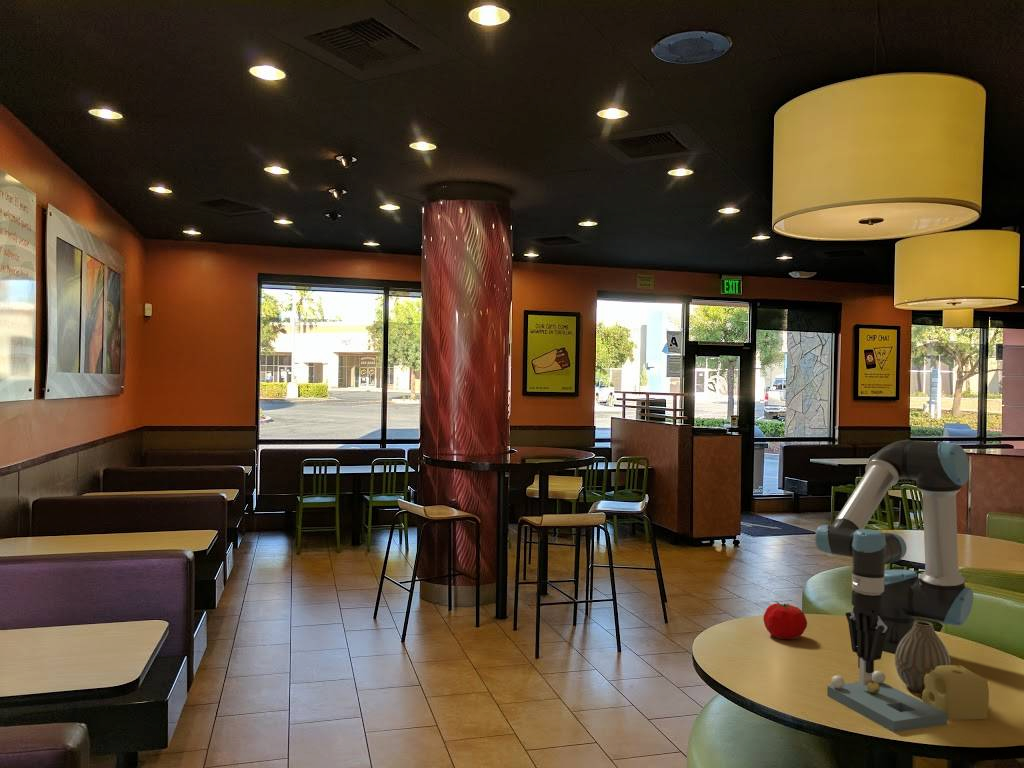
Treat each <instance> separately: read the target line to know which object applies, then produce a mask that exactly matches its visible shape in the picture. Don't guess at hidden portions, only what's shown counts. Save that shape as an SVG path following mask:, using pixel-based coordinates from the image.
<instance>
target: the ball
mask: <svg viewBox="0 0 1024 768" xmlns="http://www.w3.org/2000/svg"><path fill="white" fill-rule="evenodd" d="M866 687H867V690H868V691H869V692H870V693H872V694H877V693H878V692H879V691H880V685H879V683H878V682H876V681H874V680H873V679H872V680H871V681H869V682H868V683H867V685H866Z"/></svg>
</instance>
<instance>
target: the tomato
mask: <svg viewBox="0 0 1024 768" xmlns="http://www.w3.org/2000/svg"><path fill="white" fill-rule="evenodd" d="M774 602H775V603H773V604H770V605H768V607H766V609H765V611H764V613H763V618H762V619H763V623H764V627H765V628H766V631H767V632H769V634H770V635H771V636H773V637H775V638H777V639H781V640H794V639H797V638H799V637H801V636H802V635H803V634H804V633H805V630H806V629H807V626H808V621H807V617H806V615H805V613H804V611H802V609H800V608H799V607H797V606H794V605H791V604H790V603H787V604H786V603H783V604H782V603H779V602H777V601H776V600H775V601H774Z"/></svg>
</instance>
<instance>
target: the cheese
mask: <svg viewBox="0 0 1024 768" xmlns="http://www.w3.org/2000/svg"><path fill="white" fill-rule="evenodd" d="M924 684H925V690H924V691H923V693H921V695H922V696H921V698H922V702H924V703H926V704H928V705H931V706H933V707H935V708H937V709H939V710H941V711H943V712H945V713H947V721H963V720H964V721H965V720H966V721H969V720H971V721H972V720H986V719H987V717H988V716H987V715H988V713H989V703H990V702H989V701H990V691H989V690H990V689H989V685H988V680H987V679H986V678H985V677H982V676H981V675H979V674H977V673H975V672H973V671H970V670H969V669H967V668H966V667H964V666H963V665H958V664H957V665H956V664H955V665H954V664H951V665H942V666H937V667H936V668H935V670H932V671H931V672H930V673H929V674H926V675H925V677H924Z"/></svg>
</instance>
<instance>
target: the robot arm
mask: <svg viewBox="0 0 1024 768" xmlns="http://www.w3.org/2000/svg"><path fill="white" fill-rule="evenodd" d="M864 470H865V473H864V474H863V476H862V477H861V479H860V481H859V482H858V483H857V485H856V487H855V488H854V490H853V492H851V495H850V496H849V498H848V499H847V501H846V502H845V504H844V506H843V507H842V509H841V510H840V512H839V513H838V514H837V516H836V517H835V519H834V520H833V522H832V524H821V525H819V526H818V527H817V528H816V531H815V534H814V543H815V545H816V549H817V550H819V551H821V552H824V553H827V554H831V555H836V556H845V557H849V558H852V570H851V573H852V574H851V580H852V581H851V588H852V589H853V590H851V605H852V606H853V608H852V611H850V612H845V618H846V620H847V623H848V631H849V636H850V645H851V650H852V652H853V653H855V654H856V655H857V657H858V659H857V661H858V663H857V664H858V666H857V667H858V669H859V676H858V677H859V678H858V682H859V684H861V685H867V683H868V682H869V681H871V680H873V679H872V673H873V672H874V671H875V670H874V668H875V661H877V660H881V659H882V655H883V652H884V651H886V652H890V653H894V654H895V653H896V649H897V646H898V644H899V642H900V640H901V639H902V638H903V637H904V636H905V634H906V633H907V632H908V631H909V630H911V628H912V627H913V625H914V622H915V621H917V620H916V619H917V618H918V619H919V618H920V619H924V620H928V621H931V622H936V623H941V624H943V625H951V626H956V627H957V626H958V627H959V626H962V625H963V624H965V623H966V622H967V621H968V618H969V617H970V614H971V611H972V608H973V603H974V592H973V589H972V588H971V587H969V586H966V583H965V580H966V579H965V577H964V576H963V575H962V574H960V573H959V551H958V550H959V549H958V548H959V547H958V524H957V522H958V521H957V520H958V519H957V494H958V493H959V492H960V491H961V490H962V487H963V485H965V484H967V482H968V480H969V477H970V476H969V474H970V463H969V458H968V455H967V453H966V451H965V450H964V448H963V447H962V445H959V444H957V443H951V442H946V441H931V440H929V441H927V440H912V439H904V440H903V439H902V440H898V441H894V442H892V443H890V444H888V445H886V446H885V447H882V448H880V450H878V451H877V452H876V453H874V454H873V456H871V458H870V459H869V461H868V462H867V464H866V465H865V469H864ZM904 479H905V480H906V479H907V480H911V481H912V480H913V481H915V483H916V485H915V486H916V489H917V490H918V491H920V492H921V494H922V513H923V514H922V515H923V516H922V517H923V538H924V540H923V543H924V562H925V563H924V566H925V570H924V571H923V572H922V573H921V574H920V576H919V577H918V573H917V572H916V571H914V570H911V569H910V570H909V569H886V568H885V567H886V565H889V564H893V563H896V562H898V561H900V560H901V559H903V558H904V557H905V555H906V554H907V549H908V548H907V544H906V541H905V540H904V538H903V537H902V536H901V535H900V534H898V533H894V532H882V531H880V530H875V529H866V526H867V525H868V523H869V521H870V519H871V518H872V516H873V515H874V513H875V512H876V511H877V509H878V507H879V505H880V503H881V502H882V500H883V499H884V497H885V495H886V494H887V493H888V490H889V489H890V488H891V487H893V486H895V485H896V484H897V483H898V482H899V480H904Z"/></svg>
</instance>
